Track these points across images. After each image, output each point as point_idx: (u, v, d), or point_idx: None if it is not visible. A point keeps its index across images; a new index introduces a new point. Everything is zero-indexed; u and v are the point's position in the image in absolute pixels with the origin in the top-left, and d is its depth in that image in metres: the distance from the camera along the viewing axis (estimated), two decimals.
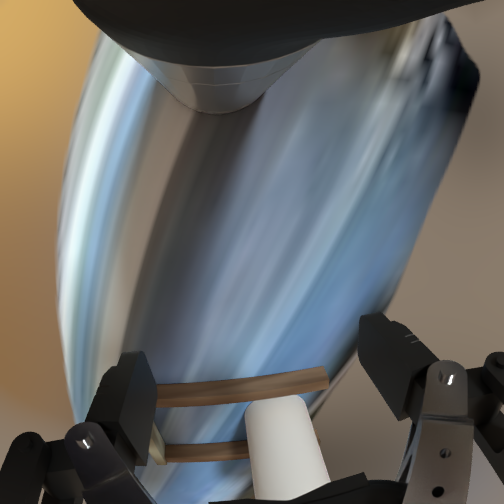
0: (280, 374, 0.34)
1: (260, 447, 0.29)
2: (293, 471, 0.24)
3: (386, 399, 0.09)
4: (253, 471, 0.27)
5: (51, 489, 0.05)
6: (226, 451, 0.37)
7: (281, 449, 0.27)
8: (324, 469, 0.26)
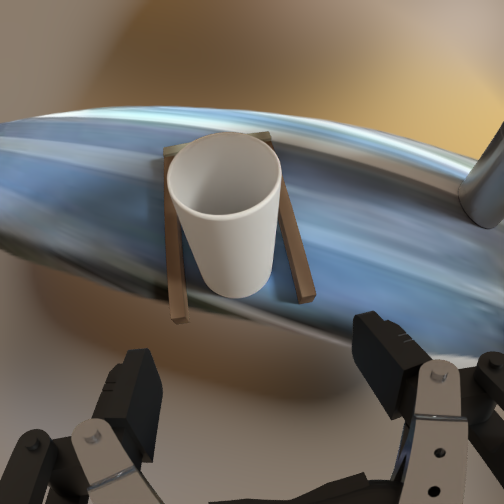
0: None
1: None
2: None
3: (379, 398, 0.09)
4: None
5: (57, 487, 0.05)
6: None
7: None
8: (261, 239, 0.24)
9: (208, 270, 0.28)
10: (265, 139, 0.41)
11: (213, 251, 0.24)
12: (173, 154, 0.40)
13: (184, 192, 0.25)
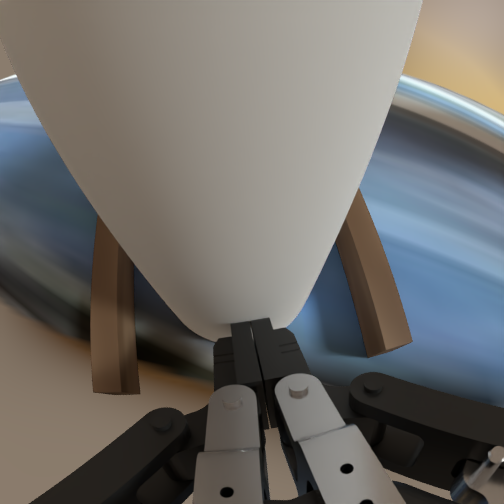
0: None
1: None
2: None
3: (266, 405, 0.09)
4: None
5: (168, 469, 0.06)
6: None
7: None
8: (346, 179, 0.06)
9: (161, 290, 0.10)
10: None
11: (146, 225, 0.05)
12: None
13: None
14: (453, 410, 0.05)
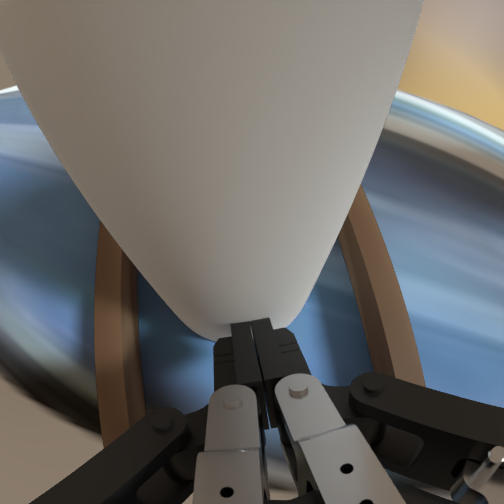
0: None
1: None
2: None
3: (266, 405, 0.09)
4: None
5: (169, 469, 0.06)
6: None
7: None
8: (346, 181, 0.06)
9: (161, 291, 0.10)
10: None
11: (145, 229, 0.05)
12: None
13: None
14: (453, 410, 0.05)
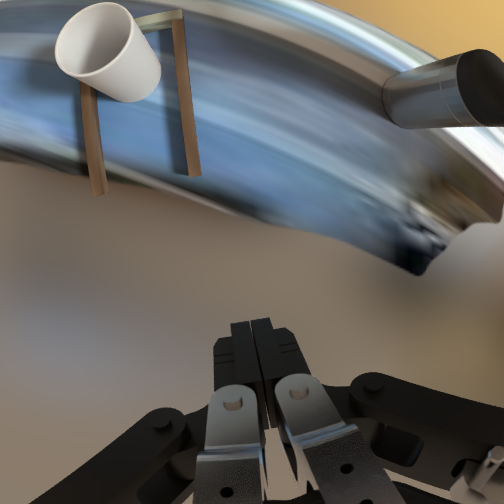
0: (196, 136, 0.38)
1: None
2: (142, 38, 0.24)
3: (266, 405, 0.09)
4: None
5: (168, 469, 0.06)
6: (92, 100, 0.34)
7: (147, 43, 0.27)
8: (128, 72, 0.25)
9: (102, 92, 0.30)
10: (176, 18, 0.31)
11: (96, 86, 0.25)
12: None
13: (75, 47, 0.23)
14: (453, 410, 0.05)
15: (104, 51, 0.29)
